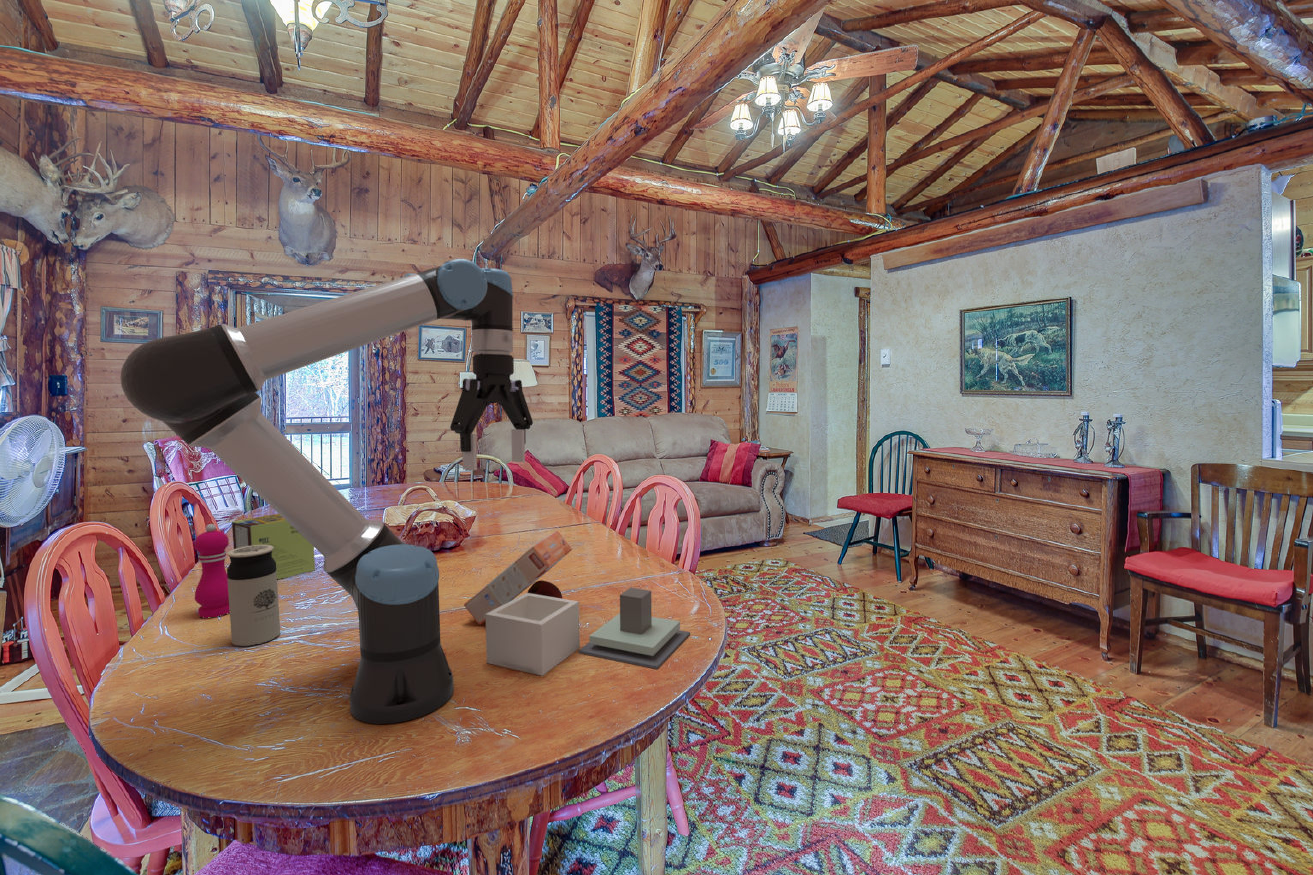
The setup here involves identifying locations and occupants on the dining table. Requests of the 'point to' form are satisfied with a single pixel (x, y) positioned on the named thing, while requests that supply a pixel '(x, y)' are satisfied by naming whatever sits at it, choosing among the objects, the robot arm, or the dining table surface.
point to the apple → (545, 589)
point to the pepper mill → (212, 573)
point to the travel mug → (253, 595)
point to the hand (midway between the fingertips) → (495, 465)
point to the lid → (635, 626)
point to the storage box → (532, 633)
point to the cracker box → (518, 576)
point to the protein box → (276, 543)
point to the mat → (635, 657)
